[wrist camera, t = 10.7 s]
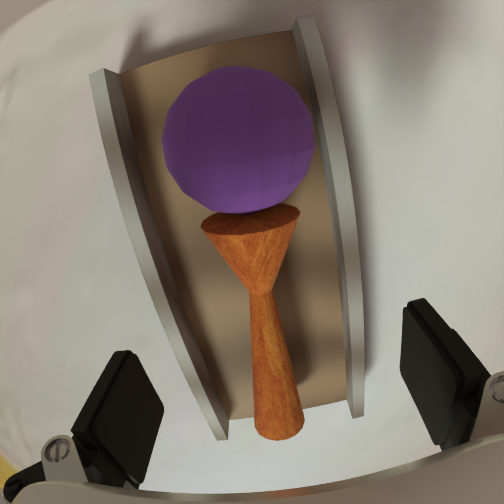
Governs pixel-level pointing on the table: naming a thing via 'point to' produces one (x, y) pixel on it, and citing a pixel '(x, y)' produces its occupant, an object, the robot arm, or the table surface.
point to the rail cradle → (207, 256)
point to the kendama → (248, 204)
